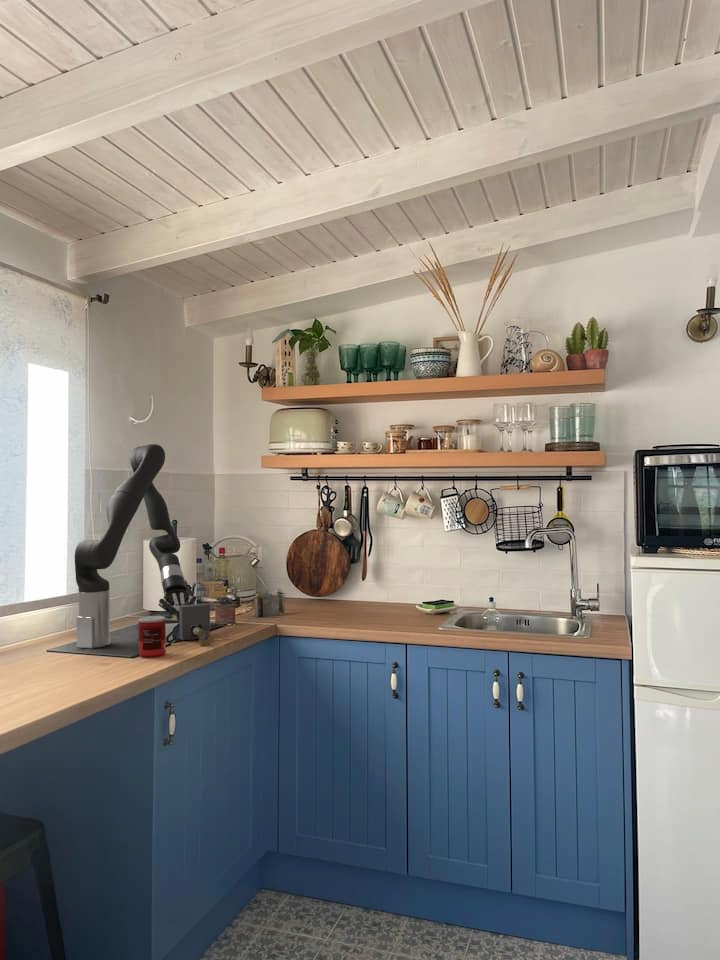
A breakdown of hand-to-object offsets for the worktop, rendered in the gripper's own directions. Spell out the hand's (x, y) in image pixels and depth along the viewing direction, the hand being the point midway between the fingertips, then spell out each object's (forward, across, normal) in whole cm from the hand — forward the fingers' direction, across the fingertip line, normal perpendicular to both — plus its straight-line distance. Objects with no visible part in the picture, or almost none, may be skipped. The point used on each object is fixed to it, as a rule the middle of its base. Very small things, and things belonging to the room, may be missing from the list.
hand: (182, 622), depth 241 cm
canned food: (+18, -14, -10) cm, 25 cm away
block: (+6, +3, +2) cm, 7 cm away
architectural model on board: (-15, +40, +24) cm, 49 cm away
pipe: (+6, +3, +1) cm, 7 cm away
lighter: (-9, +20, +16) cm, 27 cm away
